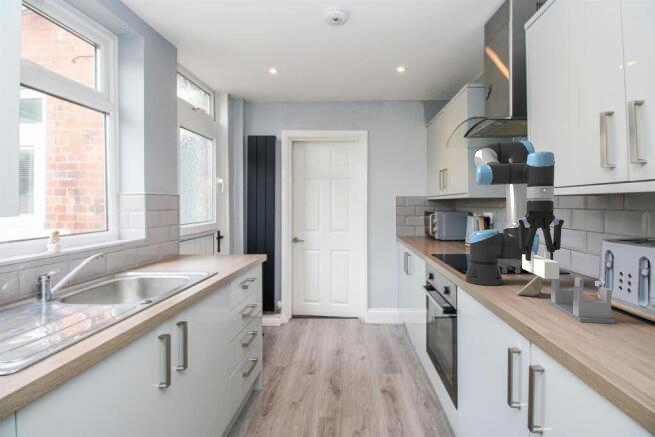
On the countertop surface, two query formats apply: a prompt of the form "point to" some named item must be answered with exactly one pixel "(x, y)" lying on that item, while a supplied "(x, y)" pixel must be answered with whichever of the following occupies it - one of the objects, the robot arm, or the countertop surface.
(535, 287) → the stone
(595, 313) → the bracket stand
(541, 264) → the rail
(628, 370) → the countertop surface
